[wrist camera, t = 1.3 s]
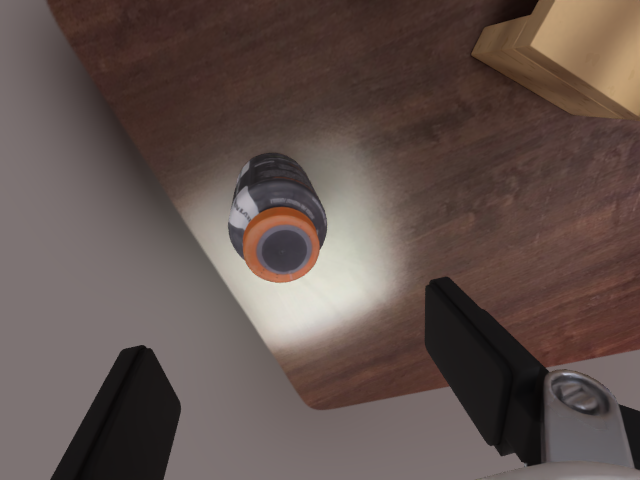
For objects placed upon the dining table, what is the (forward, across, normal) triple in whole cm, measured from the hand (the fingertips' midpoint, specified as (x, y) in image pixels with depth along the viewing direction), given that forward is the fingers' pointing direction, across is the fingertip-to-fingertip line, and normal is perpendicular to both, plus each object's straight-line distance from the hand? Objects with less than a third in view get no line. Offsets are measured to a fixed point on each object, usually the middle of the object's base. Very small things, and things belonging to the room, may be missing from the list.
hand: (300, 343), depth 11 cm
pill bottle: (+18, 0, -1) cm, 18 cm away
